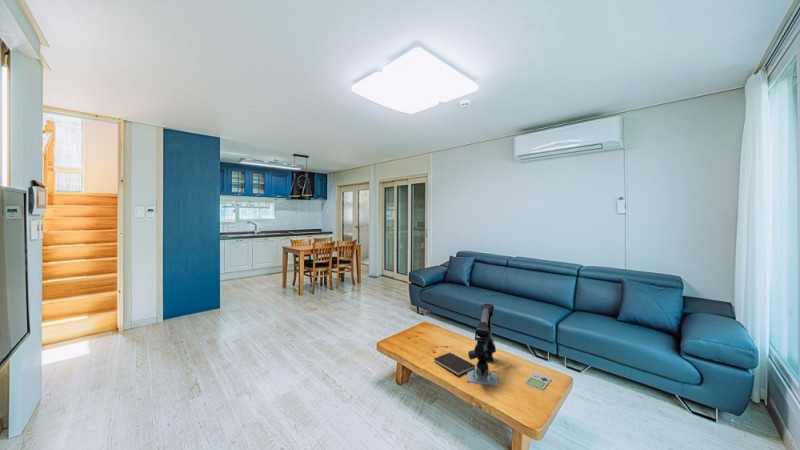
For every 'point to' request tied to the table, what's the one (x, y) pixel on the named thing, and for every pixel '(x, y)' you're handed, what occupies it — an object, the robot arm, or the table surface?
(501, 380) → the table surface
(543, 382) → the handheld gaming console
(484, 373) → the drive
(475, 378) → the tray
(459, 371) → the hardcover book
